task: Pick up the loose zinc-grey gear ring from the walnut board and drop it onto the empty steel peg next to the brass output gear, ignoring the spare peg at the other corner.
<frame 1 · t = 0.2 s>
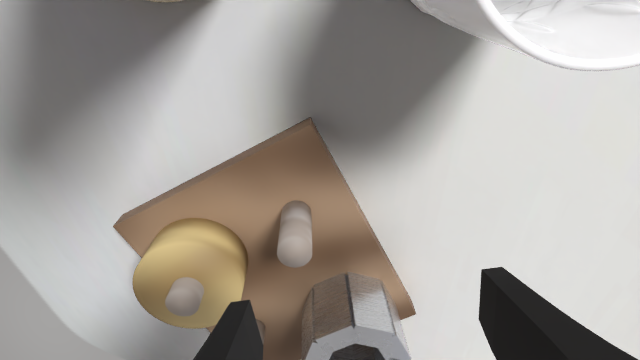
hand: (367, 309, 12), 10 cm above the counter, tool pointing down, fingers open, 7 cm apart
board: (277, 260, 23), on the counter
gear ring: (348, 308, 23), point 1 cm above the counter, touching board
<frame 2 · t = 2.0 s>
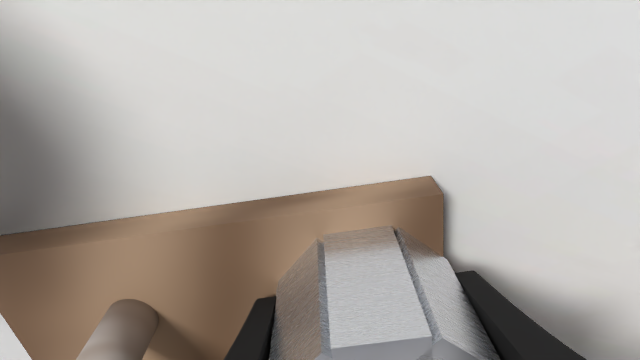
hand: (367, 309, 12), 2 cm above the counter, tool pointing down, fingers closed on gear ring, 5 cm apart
board: (250, 341, 15), on the counter
gear ring: (365, 299, 12), point 1 cm above the counter, touching board, gripper
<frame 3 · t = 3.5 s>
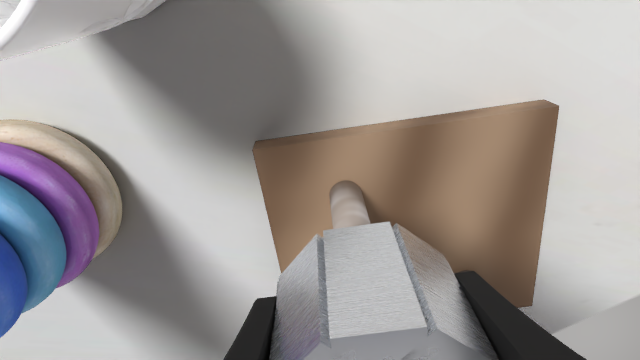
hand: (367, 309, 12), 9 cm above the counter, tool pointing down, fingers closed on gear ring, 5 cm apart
stacking toy: (51, 188, 20), on the counter
board: (403, 224, 21), on the counter
gear ring: (364, 294, 13), point 8 cm above the counter, touching gripper
when the fingers open (4 cm above the counter, at t = 5.1 s): gear ring drops 2 cm, resting on board.
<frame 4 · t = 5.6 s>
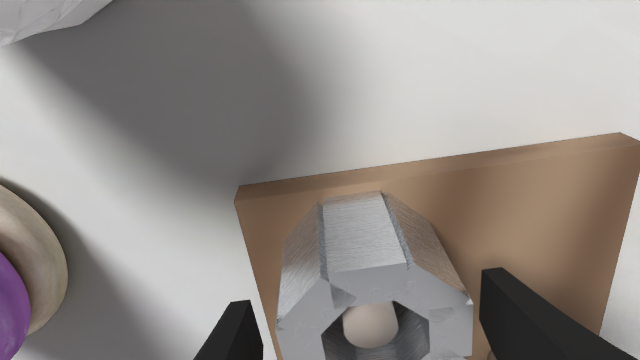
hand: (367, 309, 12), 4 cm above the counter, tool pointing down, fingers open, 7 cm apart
board: (428, 285, 17), on the counter
gear ring: (359, 256, 14), point 1 cm above the counter, touching board
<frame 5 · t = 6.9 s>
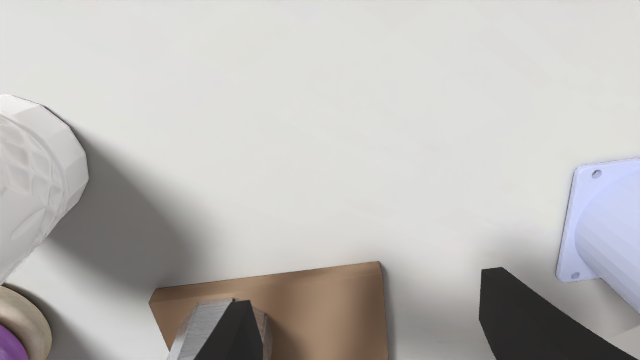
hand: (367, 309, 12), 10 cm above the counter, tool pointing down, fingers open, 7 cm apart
white cup: (25, 155, 20), on the counter
board: (282, 343, 26), on the counter
gear ring: (227, 331, 24), point 1 cm above the counter, touching board
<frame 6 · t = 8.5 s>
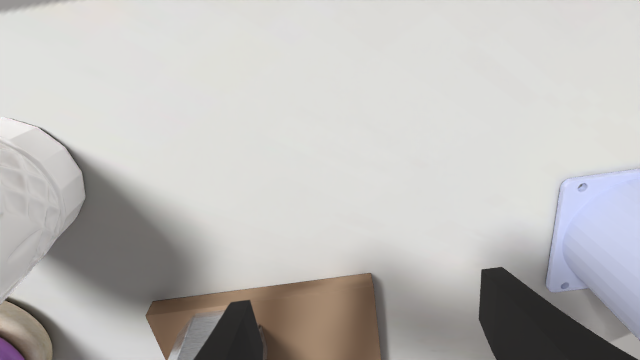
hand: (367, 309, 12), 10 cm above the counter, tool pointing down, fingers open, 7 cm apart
white cup: (23, 175, 20), on the counter
board: (278, 353, 27), on the counter
gear ring: (223, 342, 24), point 1 cm above the counter, touching board
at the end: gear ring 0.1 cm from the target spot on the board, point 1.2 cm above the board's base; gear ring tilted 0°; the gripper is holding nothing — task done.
